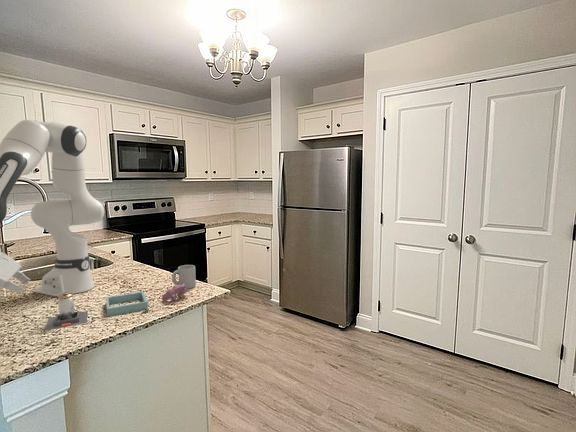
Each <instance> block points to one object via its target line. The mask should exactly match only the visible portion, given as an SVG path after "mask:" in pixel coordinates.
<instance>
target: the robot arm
mask: <svg viewBox="0 0 576 432" xmlns="http://www.w3.org/2000/svg"><path fill="white" fill-rule="evenodd" d="M86 147H87V136H86V134H85V133H84V131H83V130H82V129H81V128H79V127H76V126H74V125H67V124H64V123H63V124H62V123H60V122H59V123H58V122H52V121H51V122H50V121H38V120H33V119H23V120H20V121H18V123H16V124H15V125H14V126H13V127H12V128H11V129H10V130H9V131H8V132H7V133H6V135H4V137H3V139H2V141H1V142H0V224H2V222H3V221H5V219H6V216H7V212H8V211H7V210H8V209H7V199H8V197H9V196H10V194H11V192H12V190H13V189H14V187H15V186H16V184H17V182H18V181H19V179H21V177H22V176H26V175H27V176H28V175H30V173H32V172H33V171H34V170H35V169H36V167H37V166H38V164H39V163H40V162H41V160H42V159H43V157H44V155H45V153H46V152H47V153H51V179H52V180H51V181H52V185H53V187H54V188H55V189H56V190H57V191H59V192H62V193H64V194H67V195H69V196H70V199H59V200H57V199H56V200H46V201H42V202H41V201H40V202H36V203H35V204H34V205H33V206H32V208H31V210H30V217H31V221H33V223H34V224H35V225H37V226H38V227H40V228H42V229H44V230H45V231H46V232H47V233H49V235H50V236H51V237H52V238H53V241H54V244H55V250H56V259H54V260H52V264H54V266H53V268H52V269H51V270H49V271H48V272H47V273H45V275H43V276H42V278H41V286H39V287H36V289H35V290H34V292H35V293H38V294H42V295H47V296H52V297H58V295H60V294H63V293H73V295H74V294H80V293H83V292H86V291H90V290H92V289H93V288H95V282H94V280H93V277H92V271H91V266H90V264H91V258H90V255H89V250H88V249H89V248H88V240H87V237H85V236H84V235H82V234H80V233H76V232H74V231H72V230H70V227H71V226H81V225H82V226H83V225H90V224H91V225H92V224H96V223H100V221H102V220H103V219H104V216H105V207H104V205H103V204H102V202H100V201H99V200H97V199H96V198H94V197H93V196H92V194H91V193H90V192H89V190H88V188H87V184H86V176H85V175H86V174H85V158H84V154H83V152H84V150H85V149H86ZM21 268H22V266H21V264H20V263H19V262H18V261H16V260H15V259H13V258H12V257H11V256H9V255H8V254H6V253H5V252H3V251H2V248H0V289H2V288H3V289H5V290H9V291H11V292H12V291H13V292H14V293H16V294H21V293H22V292H23V291H24V290H25V287H24V286H23V285H25V286H26V285H28V284H29V283H30V282H31V278H29V277H28V276H26V274H24V273H23V272H22V271H21V270H20V269H21ZM12 278H14V279H17V280H18V281H20V283H21V284H23V285H21V284H17V283H15V282H14V281H12V280H11V279H12Z"/></svg>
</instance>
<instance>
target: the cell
mask: <svg viewBox="0 0 576 432" xmlns="http://www.w3.org/2000/svg"><path fill="white" fill-rule="evenodd" d="M57 301H58V302H57V303H58V313H59V314H58V315H59V316H60V321H62V320H67V319H73V318H75V314H74V312H75V303H74V294H73V293H63V294H60V295H58V296H57Z"/></svg>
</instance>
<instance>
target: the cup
mask: <svg viewBox="0 0 576 432" xmlns="http://www.w3.org/2000/svg"><path fill="white" fill-rule="evenodd" d="M177 275H178V281H177V279H176V278H177ZM196 277H197V276H196V266H195V265H193V264H184V265H180V266H178V267H177V269H176V270H174V271H173V272H172V274H171V281H172V284H174V286H176V285H182V284H184V285H186V286H188V287H189V290H190V289H193V288H195V287H196V283H197V282H196V281H197V279H196Z"/></svg>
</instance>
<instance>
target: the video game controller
mask: <svg viewBox="0 0 576 432" xmlns="http://www.w3.org/2000/svg"><path fill="white" fill-rule="evenodd" d="M189 290H190V289H189V287H188V286H186V285H184V284H182V285H174V286H173V287H170V288H169V289H167V291H166V292H165V293H164V294H163V295H162V296H161V300H162V301H163V302H168V301H169V300H170V299H171V301H175V300H176V299H177V298H178V299H180V298H182V297H183V296H185V294H186V293H187V292H188V291H189Z"/></svg>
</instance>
